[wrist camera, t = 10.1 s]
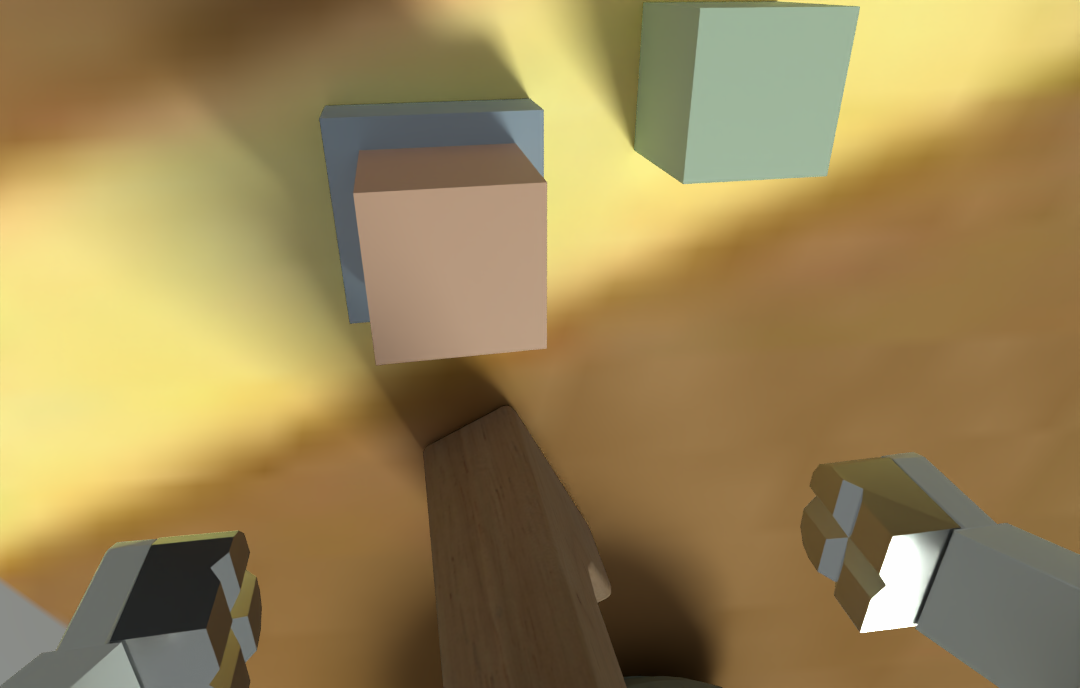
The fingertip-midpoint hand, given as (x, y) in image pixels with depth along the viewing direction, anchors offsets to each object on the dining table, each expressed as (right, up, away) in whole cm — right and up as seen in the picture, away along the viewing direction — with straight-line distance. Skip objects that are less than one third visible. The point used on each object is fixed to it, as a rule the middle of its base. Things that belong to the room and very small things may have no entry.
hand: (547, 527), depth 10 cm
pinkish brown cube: (-3, +7, +14) cm, 15 cm away
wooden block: (-2, -4, +23) cm, 23 cm away
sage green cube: (+6, +12, +16) cm, 21 cm away
